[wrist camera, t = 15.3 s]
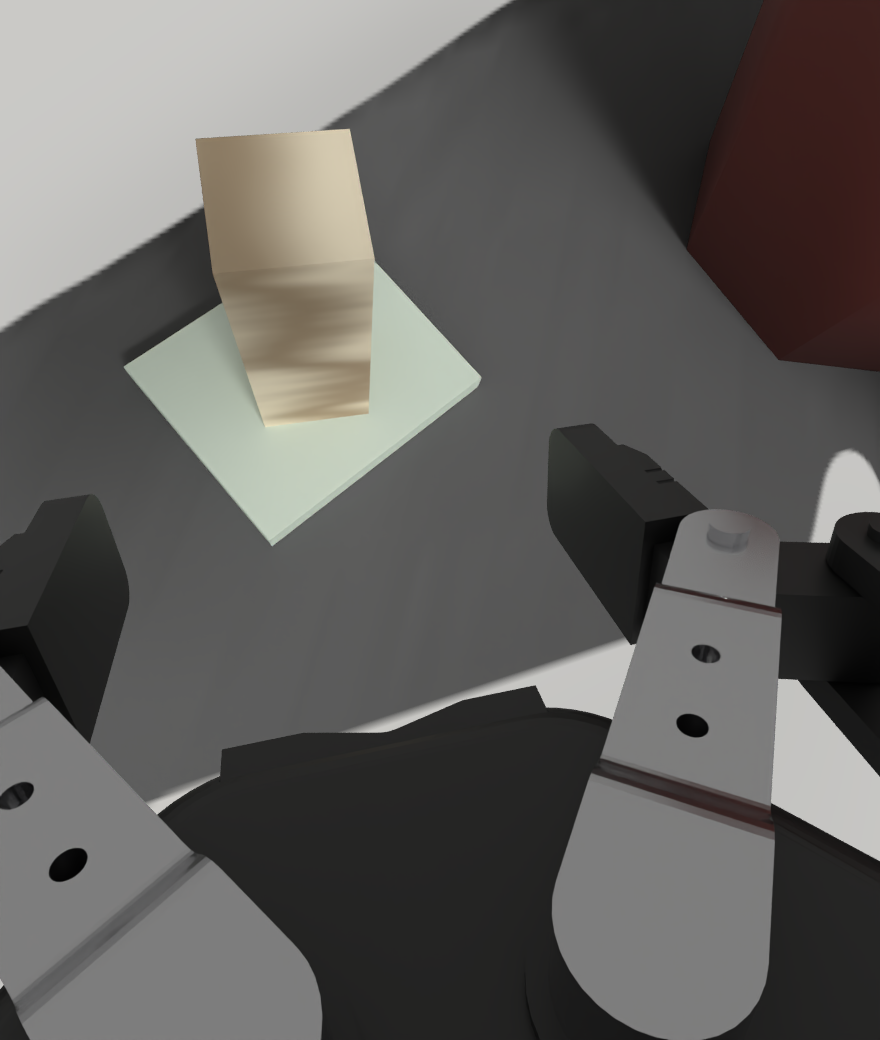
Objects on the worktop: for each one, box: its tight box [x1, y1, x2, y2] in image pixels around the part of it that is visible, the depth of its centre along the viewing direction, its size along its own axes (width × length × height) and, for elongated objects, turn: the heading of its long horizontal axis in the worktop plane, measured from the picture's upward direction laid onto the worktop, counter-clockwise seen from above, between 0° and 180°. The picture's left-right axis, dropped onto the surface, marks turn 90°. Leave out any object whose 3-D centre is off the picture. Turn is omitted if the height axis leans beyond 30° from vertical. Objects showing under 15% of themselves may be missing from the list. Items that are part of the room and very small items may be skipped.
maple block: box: [196, 129, 374, 427], centre depth 25 cm, size 4×4×11 cm
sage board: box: [124, 261, 481, 546], centre depth 31 cm, size 12×10×1 cm
